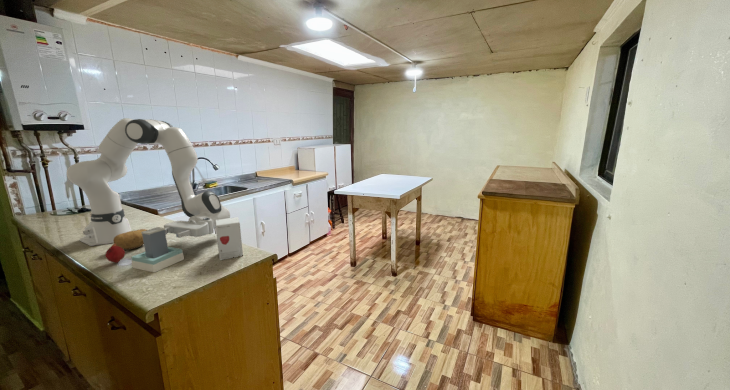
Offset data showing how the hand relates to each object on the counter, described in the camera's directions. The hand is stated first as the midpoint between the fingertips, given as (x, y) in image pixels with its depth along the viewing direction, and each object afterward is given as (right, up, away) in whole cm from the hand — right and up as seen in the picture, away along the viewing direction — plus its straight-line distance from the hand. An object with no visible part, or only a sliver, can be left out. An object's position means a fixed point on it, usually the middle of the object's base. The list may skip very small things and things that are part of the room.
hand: (169, 234), depth 118 cm
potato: (-25, -8, +13) cm, 29 cm away
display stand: (-2, -11, -3) cm, 12 cm away
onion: (-20, -11, -2) cm, 23 cm away
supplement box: (+23, -9, +5) cm, 26 cm away
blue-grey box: (-2, -8, -4) cm, 9 cm away
